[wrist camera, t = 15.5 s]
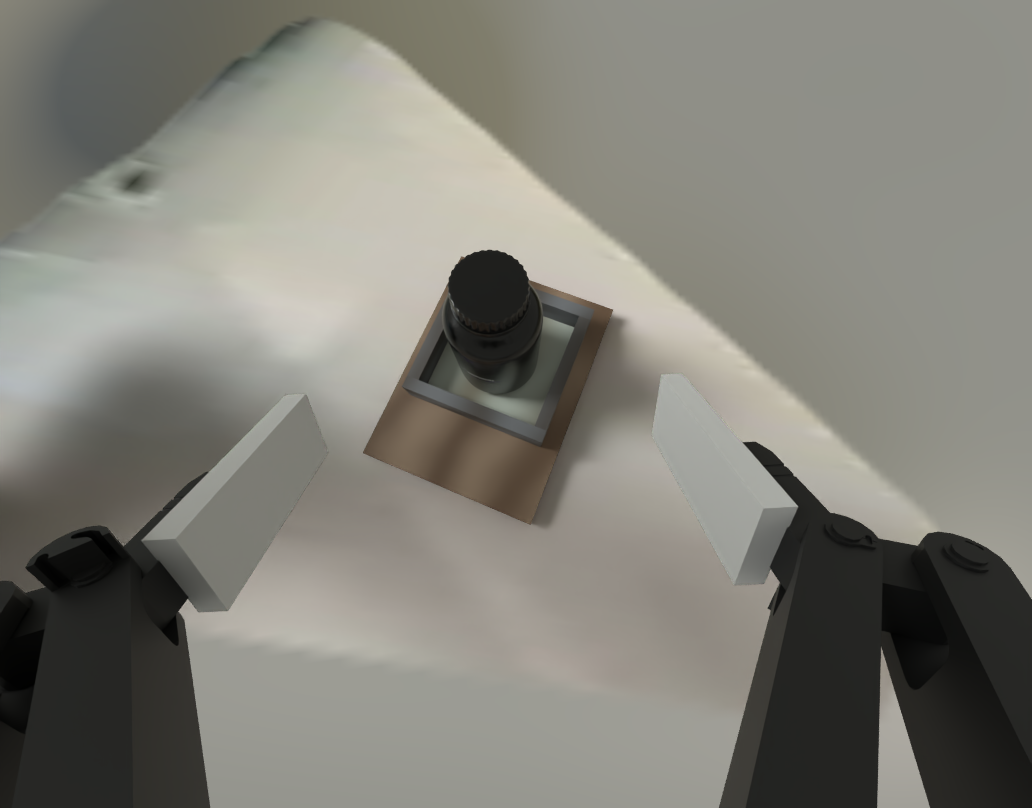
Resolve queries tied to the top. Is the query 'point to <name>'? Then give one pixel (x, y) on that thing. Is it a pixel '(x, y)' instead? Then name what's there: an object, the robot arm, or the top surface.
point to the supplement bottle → (493, 321)
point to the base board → (491, 411)
